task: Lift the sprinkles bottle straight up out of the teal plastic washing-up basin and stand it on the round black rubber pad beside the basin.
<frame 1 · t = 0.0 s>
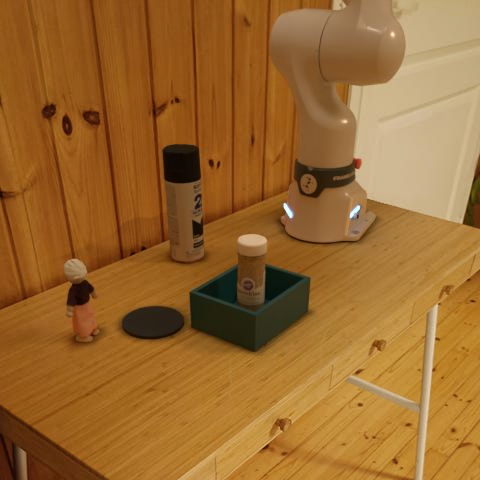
basin: (250, 319, 100), on the table
pad: (153, 323, 99), on the table
grandmother figurine: (86, 338, 95), on the table
sprinkles bottle: (250, 319, 100), resting on basin
spray can: (187, 257, 119), on the table
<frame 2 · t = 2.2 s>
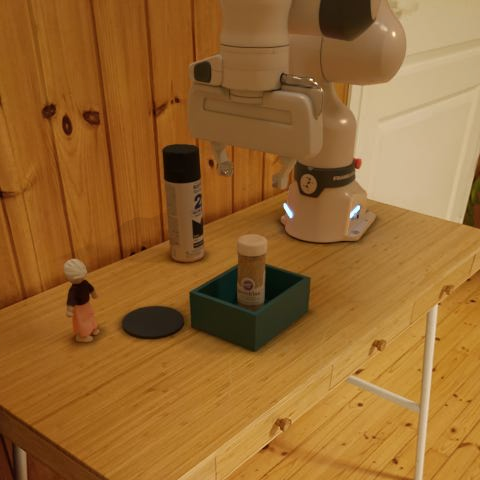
hand: (251, 181, 86), 22 cm above the table, tool pointing down, fingers open, 8 cm apart
nothing on the table moved.
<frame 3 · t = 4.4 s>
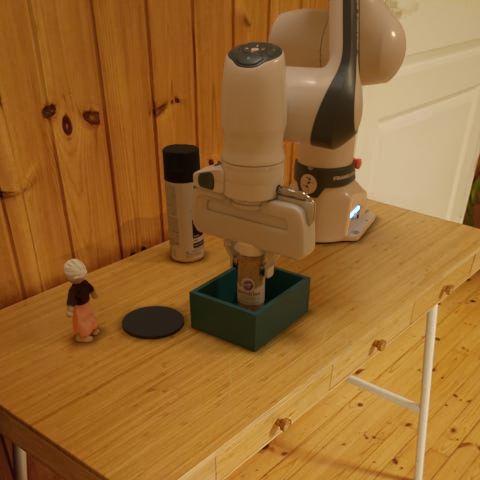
hand: (251, 271, 95), 8 cm above the table, tool pointing down, fingers closed on sprinkles bottle, 4 cm apart
sprinkles bottle: (250, 319, 100), resting on basin, touching gripper
everything else where it was.
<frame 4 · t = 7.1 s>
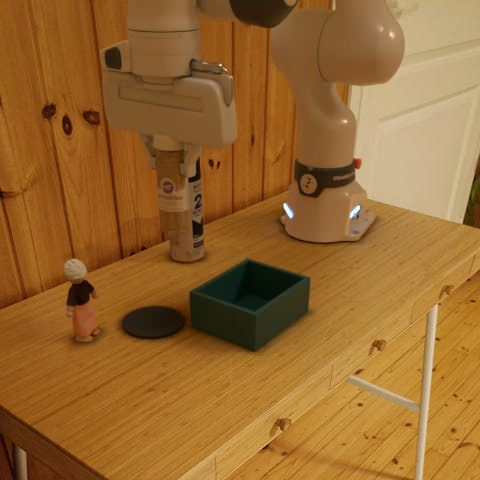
hand: (172, 172, 84), 24 cm above the table, tool pointing down, fingers closed on sprinkles bottle, 4 cm apart
sprinkles bottle: (175, 231, 89), point 15 cm above the table, touching gripper
everything else where it was.
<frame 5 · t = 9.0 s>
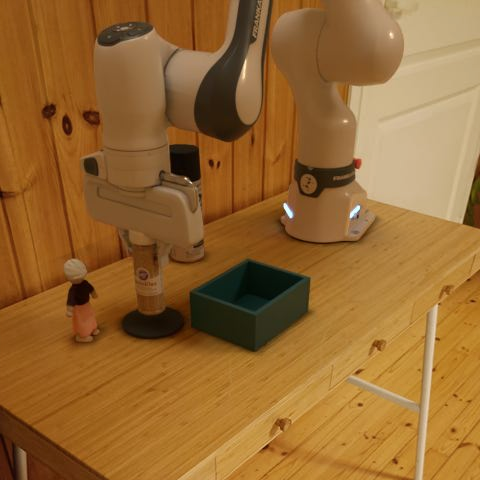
hand: (147, 260, 92), 11 cm above the table, tool pointing down, fingers closed on sprinkles bottle, 4 cm apart
sprinkles bottle: (152, 310, 97), point 2 cm above the table, touching gripper
everything else where it was.
when the fingers open (9 cm above the table, at t = 10.0 s): sprinkles bottle stays where it is, resting on pad.
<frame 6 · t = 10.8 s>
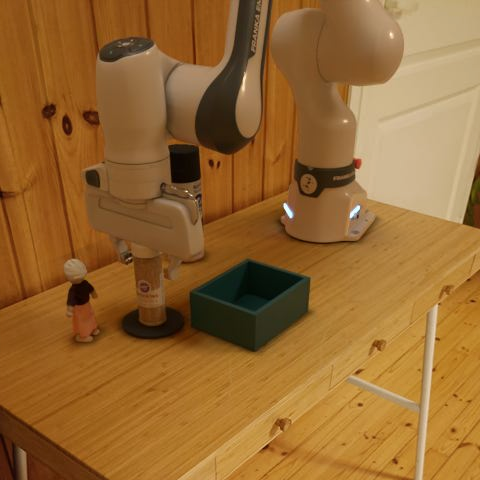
hand: (148, 270, 93), 9 cm above the table, tool pointing down, fingers open, 8 cm apart
sprinkles bottle: (153, 321, 99), resting on pad
everything else where it was.
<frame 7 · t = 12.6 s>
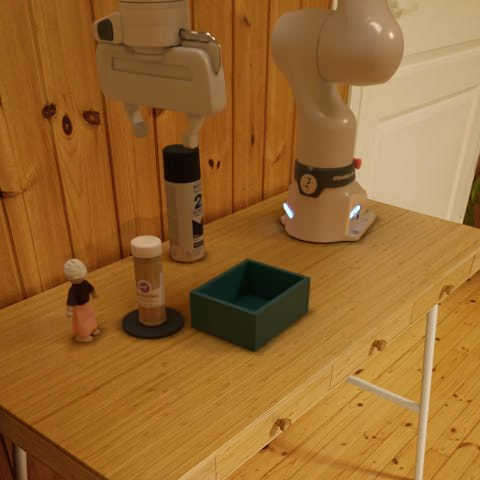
hand: (165, 141, 87), 26 cm above the table, tool pointing down, fingers open, 8 cm apart
nothing on the table moved.
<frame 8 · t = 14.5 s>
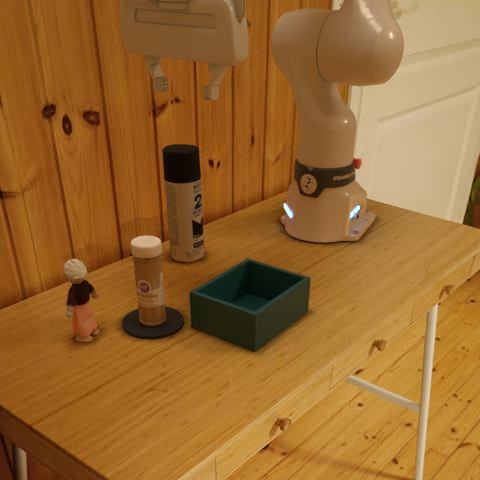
hand: (185, 95, 88), 31 cm above the table, tool pointing down, fingers open, 8 cm apart
nothing on the table moved.
at the end: sprinkles bottle 0.1 cm off-centre on the pad, point 0.3 cm above the pad's base; sprinkles bottle tilted 0°; the gripper is holding nothing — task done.
